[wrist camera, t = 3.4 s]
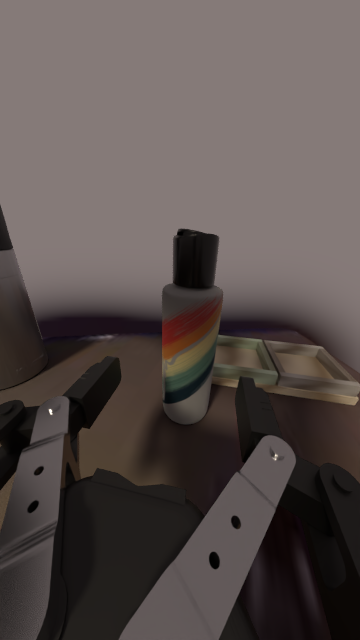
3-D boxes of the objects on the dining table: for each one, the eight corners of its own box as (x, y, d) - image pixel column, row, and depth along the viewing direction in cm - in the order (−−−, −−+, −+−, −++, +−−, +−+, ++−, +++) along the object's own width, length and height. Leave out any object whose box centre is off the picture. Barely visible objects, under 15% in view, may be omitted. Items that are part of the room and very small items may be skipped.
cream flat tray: (203, 382, 27) (204, 366, 26) (205, 346, 36) (207, 333, 35) (354, 405, 24) (365, 388, 23) (316, 360, 33) (322, 346, 32)
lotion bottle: (157, 394, 24) (153, 228, 16) (195, 384, 26) (209, 232, 18) (171, 433, 20) (176, 225, 11) (216, 416, 22) (248, 230, 13)
